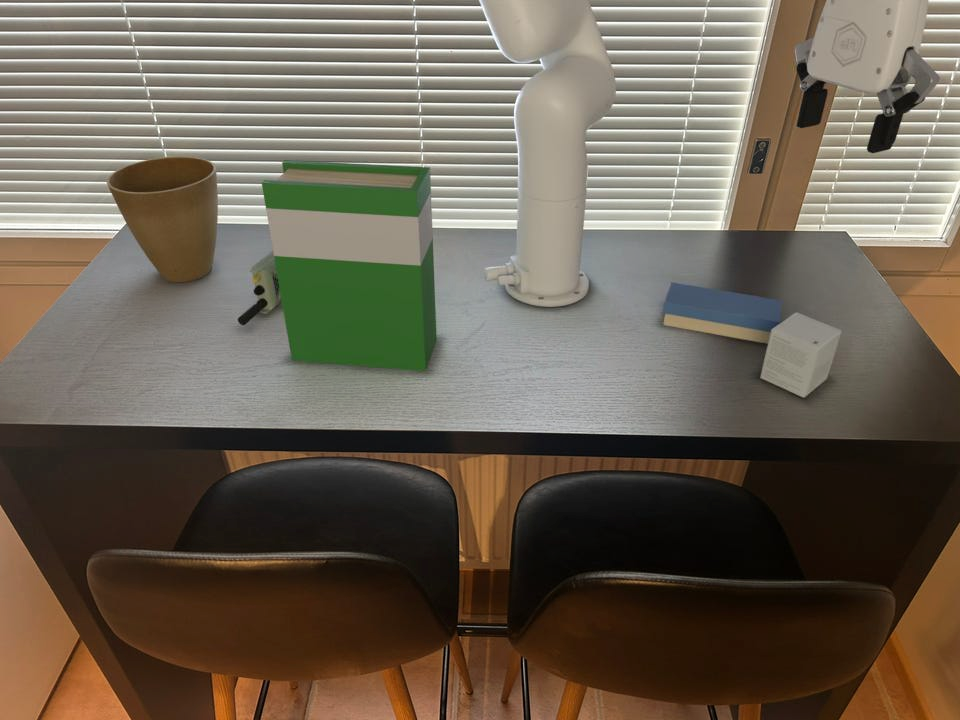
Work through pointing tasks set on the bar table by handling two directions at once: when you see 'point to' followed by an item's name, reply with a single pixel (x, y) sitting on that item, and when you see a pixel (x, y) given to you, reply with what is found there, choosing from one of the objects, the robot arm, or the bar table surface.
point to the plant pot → (171, 212)
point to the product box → (800, 354)
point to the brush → (721, 312)
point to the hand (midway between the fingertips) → (841, 137)
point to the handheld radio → (263, 288)
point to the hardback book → (355, 262)
